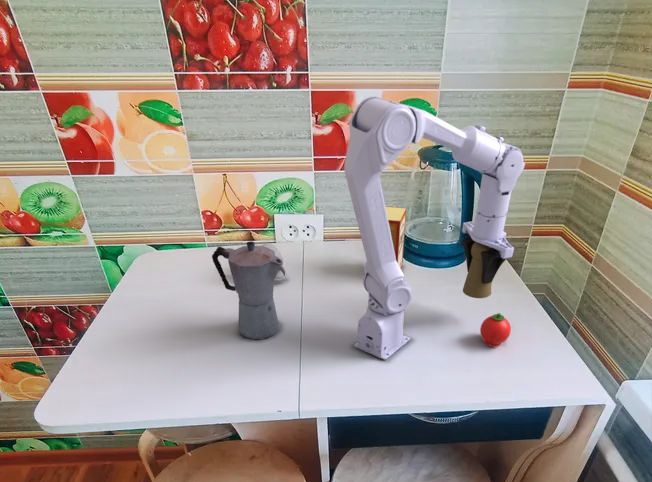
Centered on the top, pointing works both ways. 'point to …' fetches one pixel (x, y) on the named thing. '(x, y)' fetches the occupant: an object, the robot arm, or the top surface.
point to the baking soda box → (397, 230)
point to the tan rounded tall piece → (476, 274)
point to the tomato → (495, 330)
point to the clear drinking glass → (278, 254)
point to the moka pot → (252, 287)
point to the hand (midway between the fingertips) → (479, 277)
